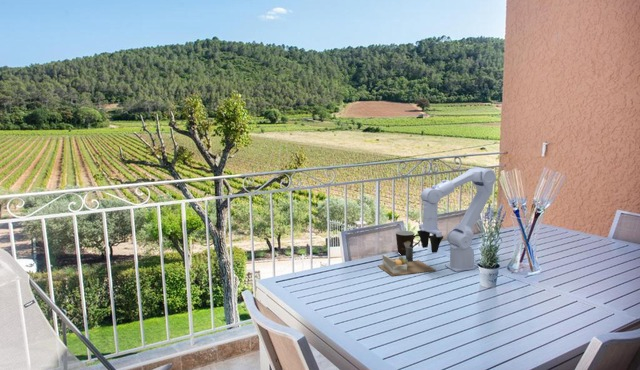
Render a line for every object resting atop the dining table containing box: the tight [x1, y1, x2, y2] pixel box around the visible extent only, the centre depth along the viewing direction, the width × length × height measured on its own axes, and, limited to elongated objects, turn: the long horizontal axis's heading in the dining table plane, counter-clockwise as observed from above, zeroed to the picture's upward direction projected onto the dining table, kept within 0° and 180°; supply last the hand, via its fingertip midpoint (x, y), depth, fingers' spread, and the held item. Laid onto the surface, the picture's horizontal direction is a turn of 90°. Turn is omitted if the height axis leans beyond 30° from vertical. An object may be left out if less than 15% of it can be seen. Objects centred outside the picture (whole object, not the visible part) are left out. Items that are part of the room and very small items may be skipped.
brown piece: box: [377, 254, 437, 277], centre depth 203 cm, size 20×14×6 cm
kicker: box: [398, 247, 414, 267], centre depth 203 cm, size 5×6×8 cm
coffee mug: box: [395, 230, 421, 257], centre depth 224 cm, size 12×9×10 cm
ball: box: [394, 258, 402, 266], centre depth 202 cm, size 4×4×4 cm
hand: (429, 249), depth 198 cm, fingers open, 7 cm apart
